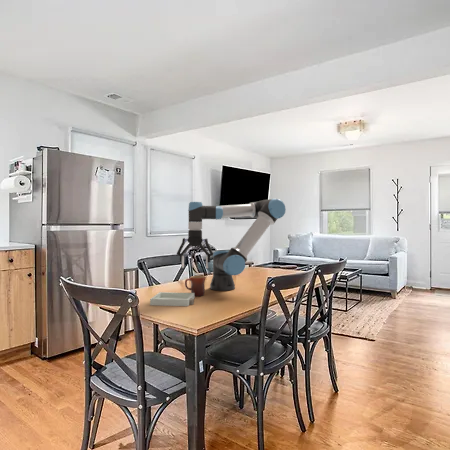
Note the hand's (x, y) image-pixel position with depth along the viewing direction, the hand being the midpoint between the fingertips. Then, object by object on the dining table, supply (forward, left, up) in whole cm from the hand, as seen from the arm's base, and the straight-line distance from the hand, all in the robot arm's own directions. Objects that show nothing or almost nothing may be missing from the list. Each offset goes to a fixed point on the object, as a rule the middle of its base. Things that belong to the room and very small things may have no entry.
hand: (194, 268), depth 197 cm
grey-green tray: (+8, +16, -15) cm, 24 cm away
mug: (0, 0, -16) cm, 16 cm away
